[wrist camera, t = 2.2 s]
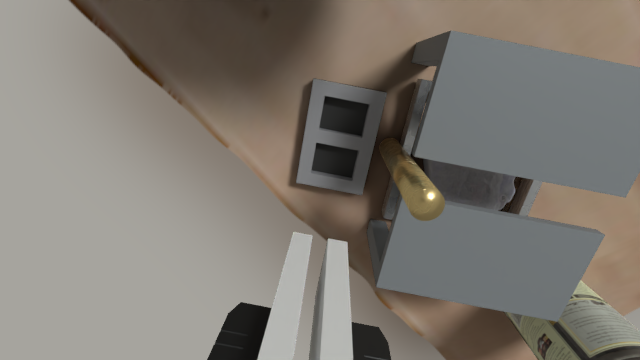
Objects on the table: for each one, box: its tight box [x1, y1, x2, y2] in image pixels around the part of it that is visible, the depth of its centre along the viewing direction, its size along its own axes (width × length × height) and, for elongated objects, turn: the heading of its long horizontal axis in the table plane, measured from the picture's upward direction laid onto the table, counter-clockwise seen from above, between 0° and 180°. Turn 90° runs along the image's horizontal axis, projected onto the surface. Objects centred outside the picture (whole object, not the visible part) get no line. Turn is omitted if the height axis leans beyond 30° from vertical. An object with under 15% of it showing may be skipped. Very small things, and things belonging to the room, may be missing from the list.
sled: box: [379, 79, 543, 221], centre depth 29 cm, size 16×18×17 cm
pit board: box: [296, 78, 387, 195], centre depth 37 cm, size 12×8×2 cm, turn 170°
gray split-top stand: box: [367, 31, 640, 322], centre depth 32 cm, size 23×18×11 cm
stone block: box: [423, 158, 516, 211], centre depth 36 cm, size 12×5×10 cm
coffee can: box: [505, 280, 640, 360], centre depth 36 cm, size 10×10×14 cm
